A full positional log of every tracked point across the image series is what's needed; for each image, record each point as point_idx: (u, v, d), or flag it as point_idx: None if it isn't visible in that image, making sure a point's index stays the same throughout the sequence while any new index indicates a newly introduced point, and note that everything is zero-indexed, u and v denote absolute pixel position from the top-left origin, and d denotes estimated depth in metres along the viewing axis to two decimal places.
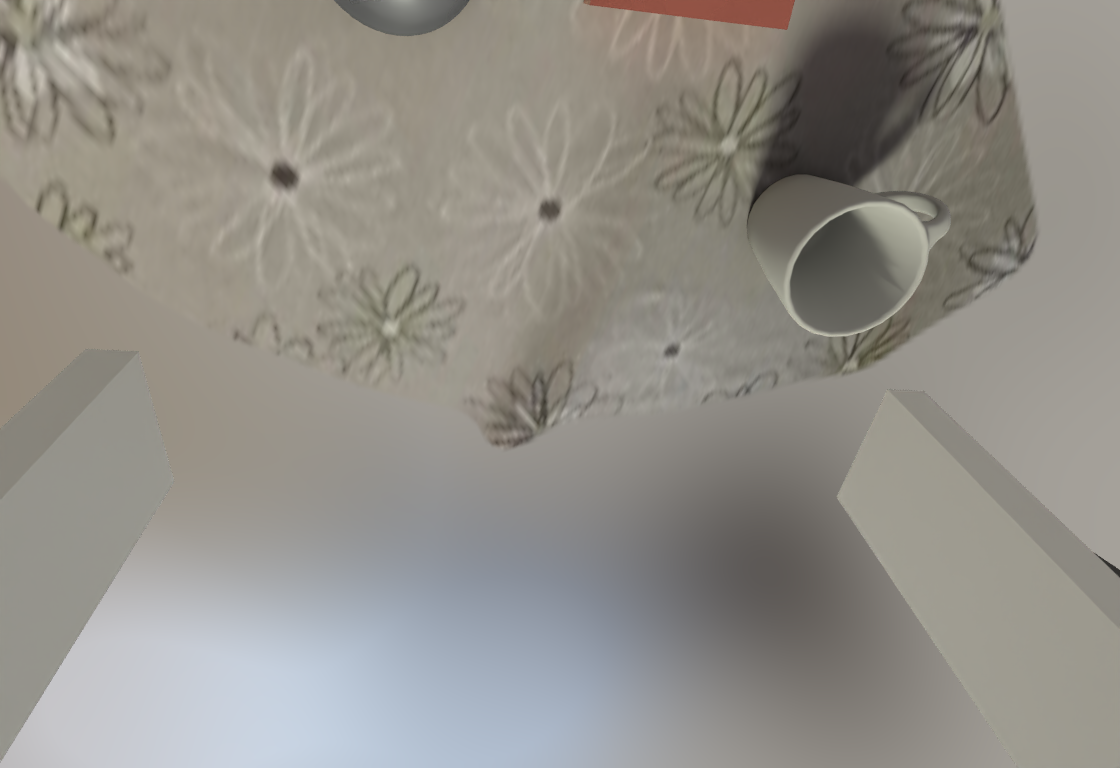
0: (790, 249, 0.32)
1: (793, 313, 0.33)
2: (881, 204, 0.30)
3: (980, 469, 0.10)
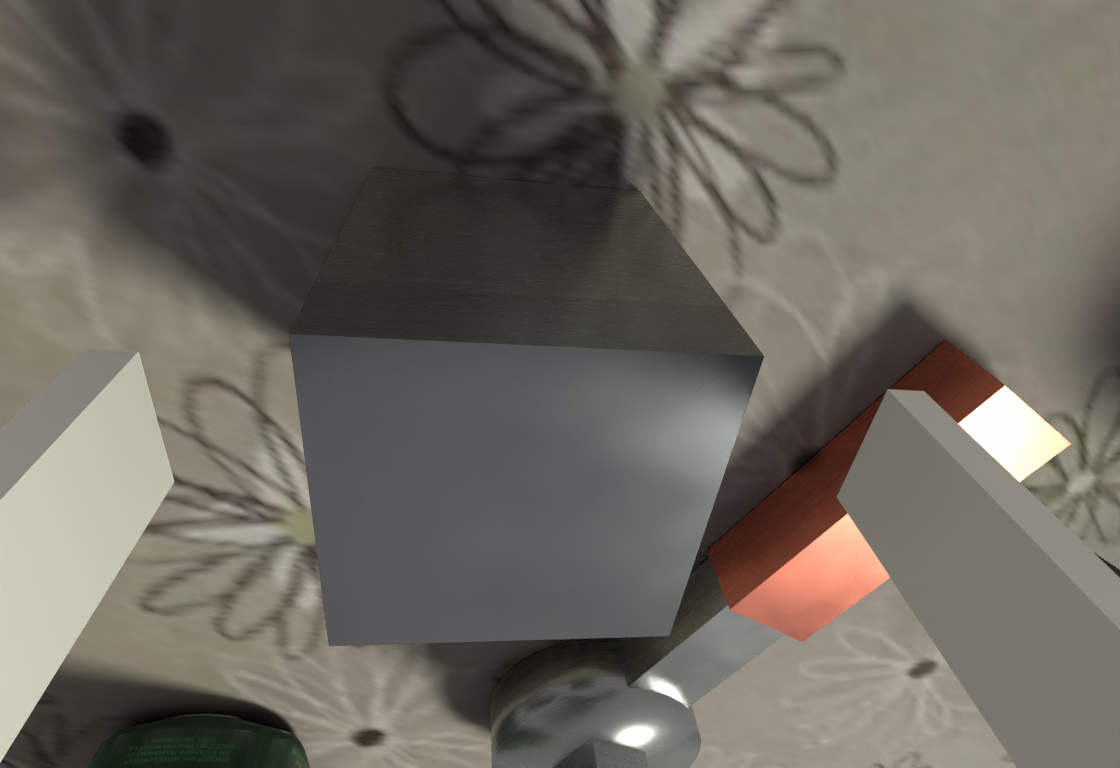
0: None
1: None
2: None
3: (980, 469, 0.10)
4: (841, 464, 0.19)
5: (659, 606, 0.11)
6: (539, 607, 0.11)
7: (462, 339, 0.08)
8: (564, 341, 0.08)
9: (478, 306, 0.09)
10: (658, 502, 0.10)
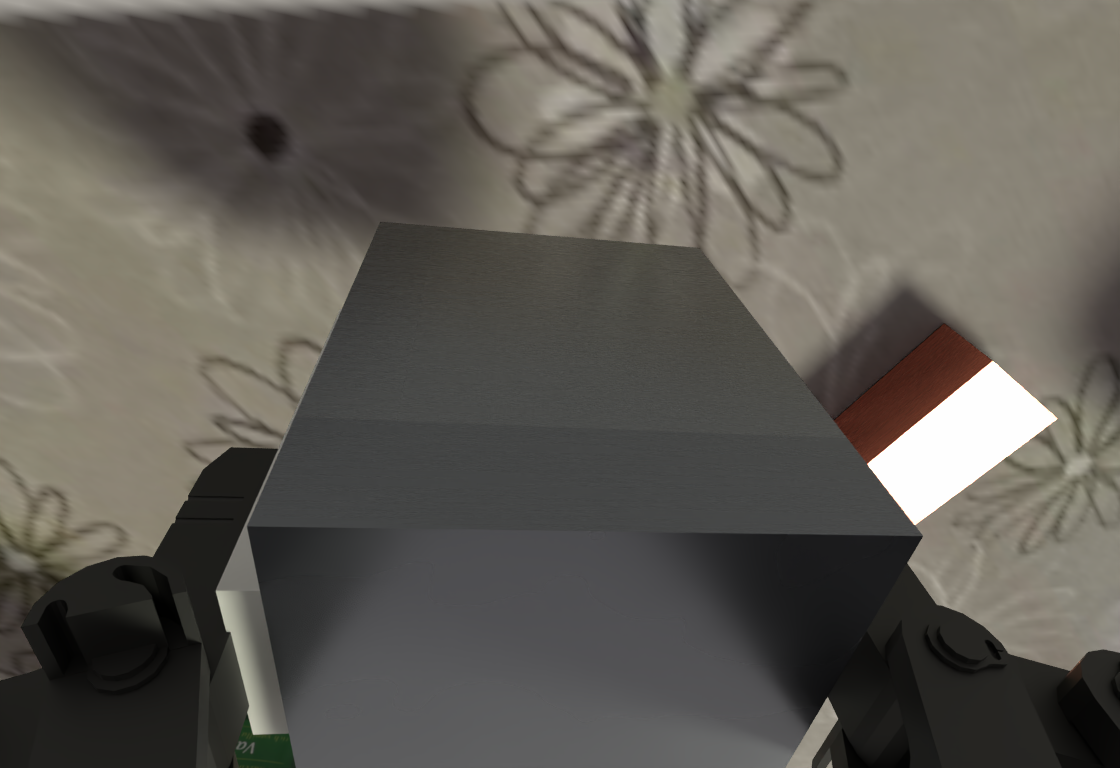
0: None
1: None
2: None
3: None
4: (848, 435, 0.21)
5: None
6: None
7: (498, 523, 0.05)
8: (642, 519, 0.06)
9: (517, 455, 0.06)
10: (752, 701, 0.07)
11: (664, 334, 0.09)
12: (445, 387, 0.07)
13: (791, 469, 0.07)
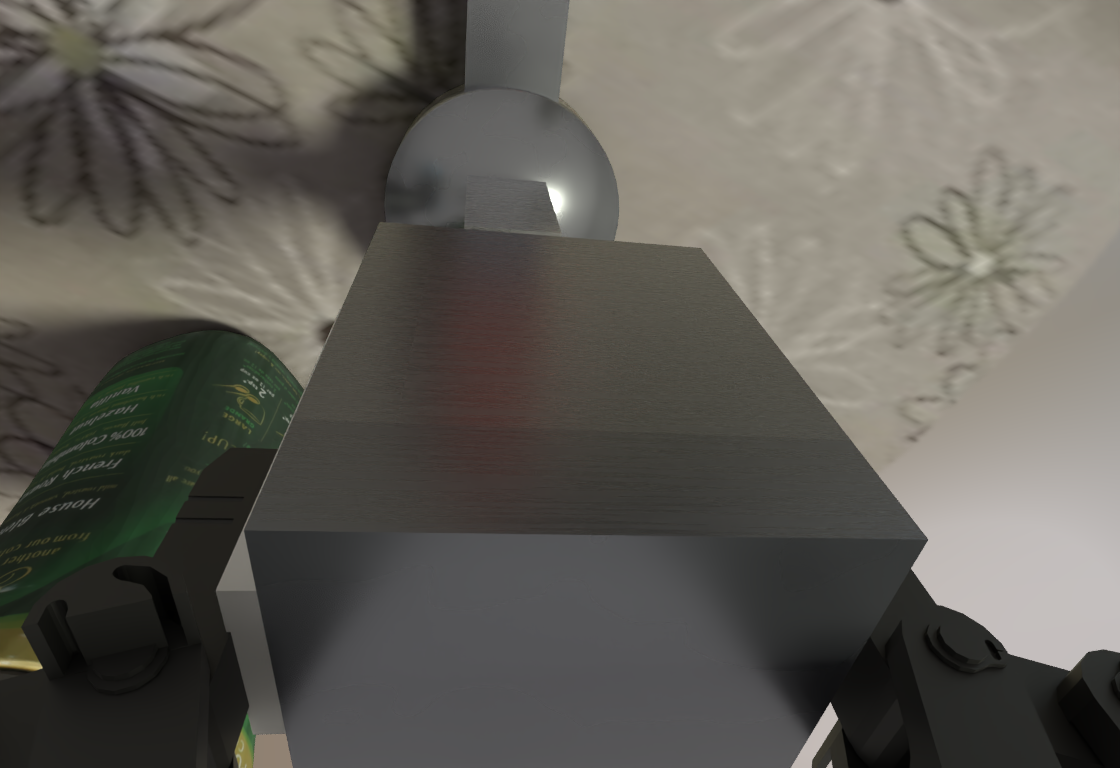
0: None
1: None
2: None
3: None
4: None
5: None
6: None
7: (499, 527, 0.05)
8: (645, 522, 0.06)
9: (518, 457, 0.06)
10: (754, 705, 0.07)
11: (666, 335, 0.09)
12: (445, 388, 0.07)
13: (794, 471, 0.06)
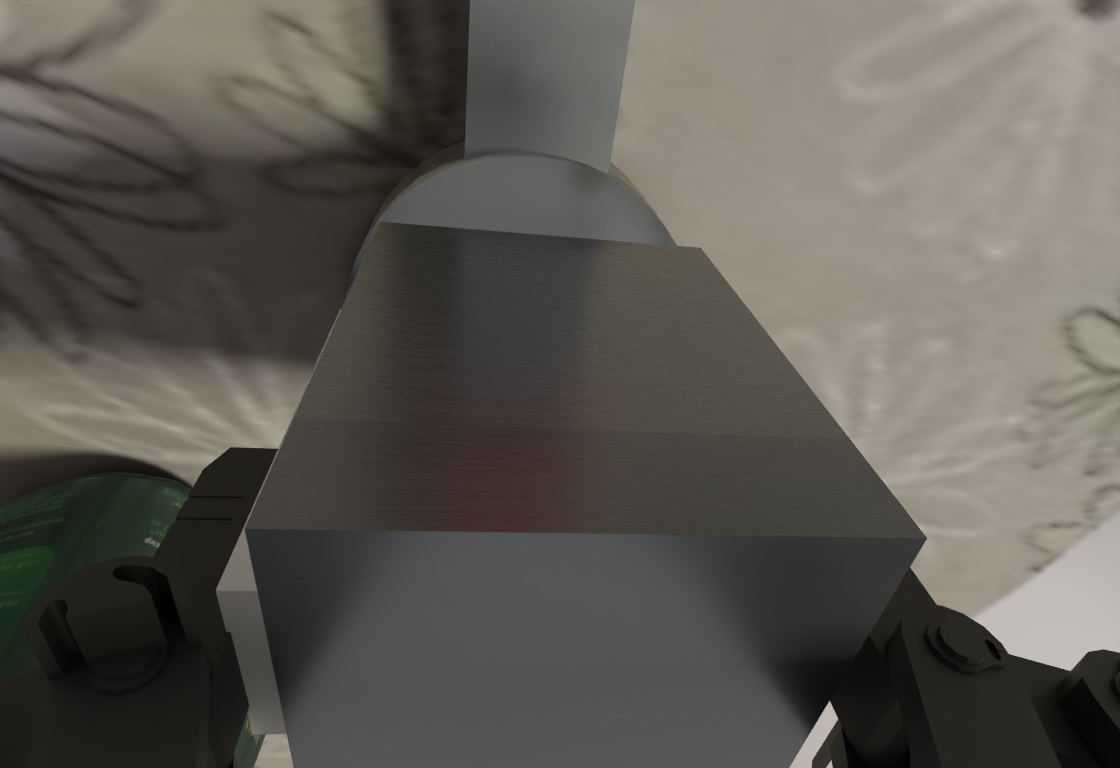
0: None
1: None
2: None
3: None
4: None
5: None
6: None
7: (498, 527, 0.05)
8: (644, 521, 0.06)
9: (518, 456, 0.06)
10: (754, 703, 0.07)
11: (665, 334, 0.09)
12: (445, 388, 0.07)
13: (793, 470, 0.07)
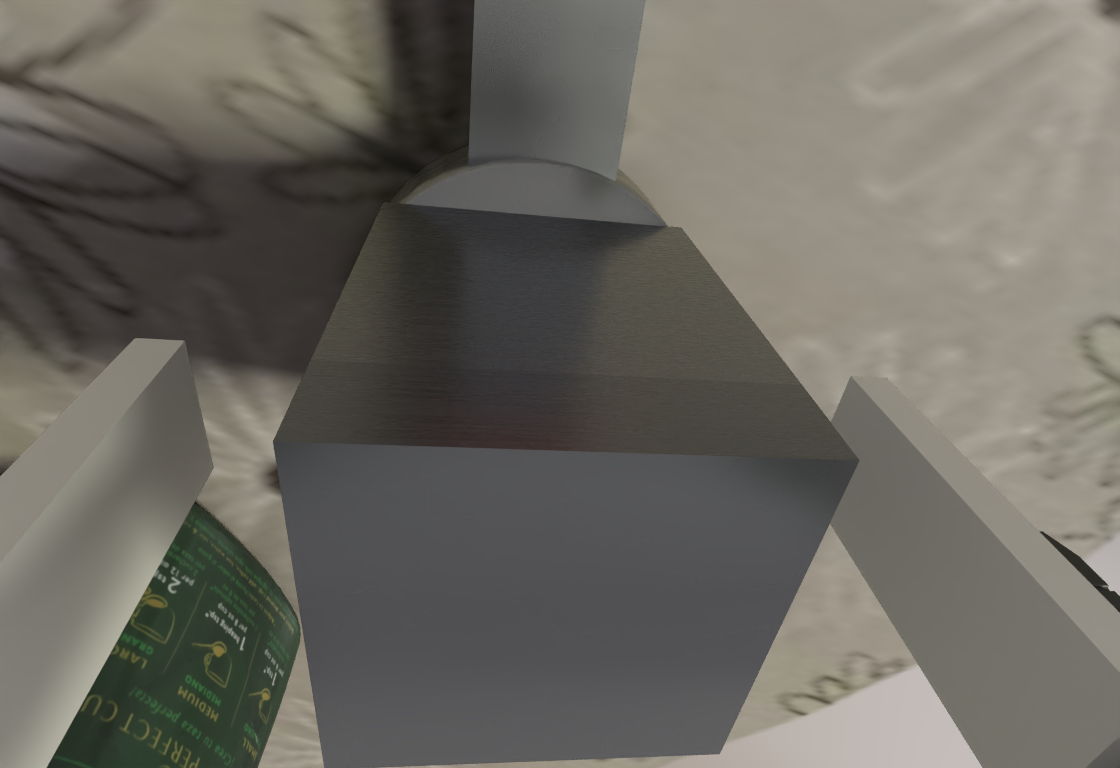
0: None
1: None
2: None
3: (934, 451, 0.10)
4: None
5: (710, 724, 0.09)
6: (571, 727, 0.09)
7: (489, 444, 0.06)
8: (614, 443, 0.07)
9: (506, 391, 0.07)
10: (717, 618, 0.08)
11: (643, 299, 0.10)
12: (443, 339, 0.08)
13: (749, 408, 0.07)
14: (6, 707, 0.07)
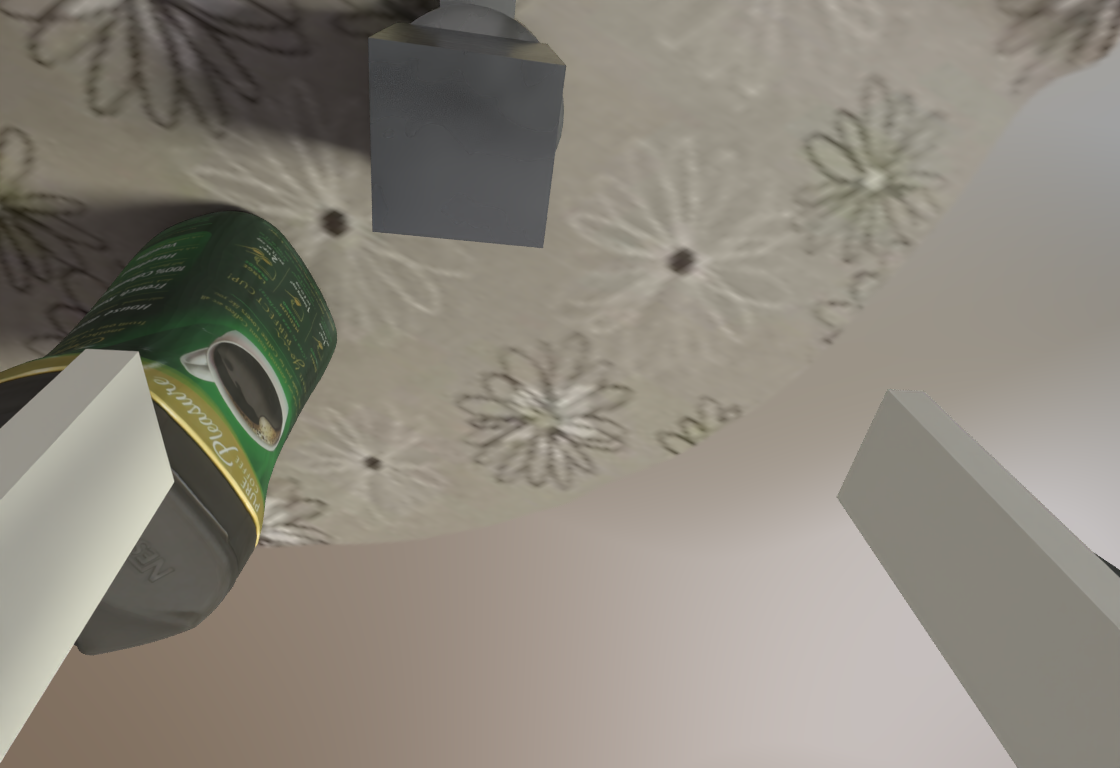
0: None
1: None
2: None
3: (980, 469, 0.10)
4: None
5: (535, 224, 0.22)
6: (475, 216, 0.22)
7: (437, 46, 0.19)
8: (480, 53, 0.19)
9: (445, 44, 0.20)
10: (527, 149, 0.21)
11: (511, 46, 0.23)
12: (424, 38, 0.21)
13: (534, 58, 0.20)
14: None
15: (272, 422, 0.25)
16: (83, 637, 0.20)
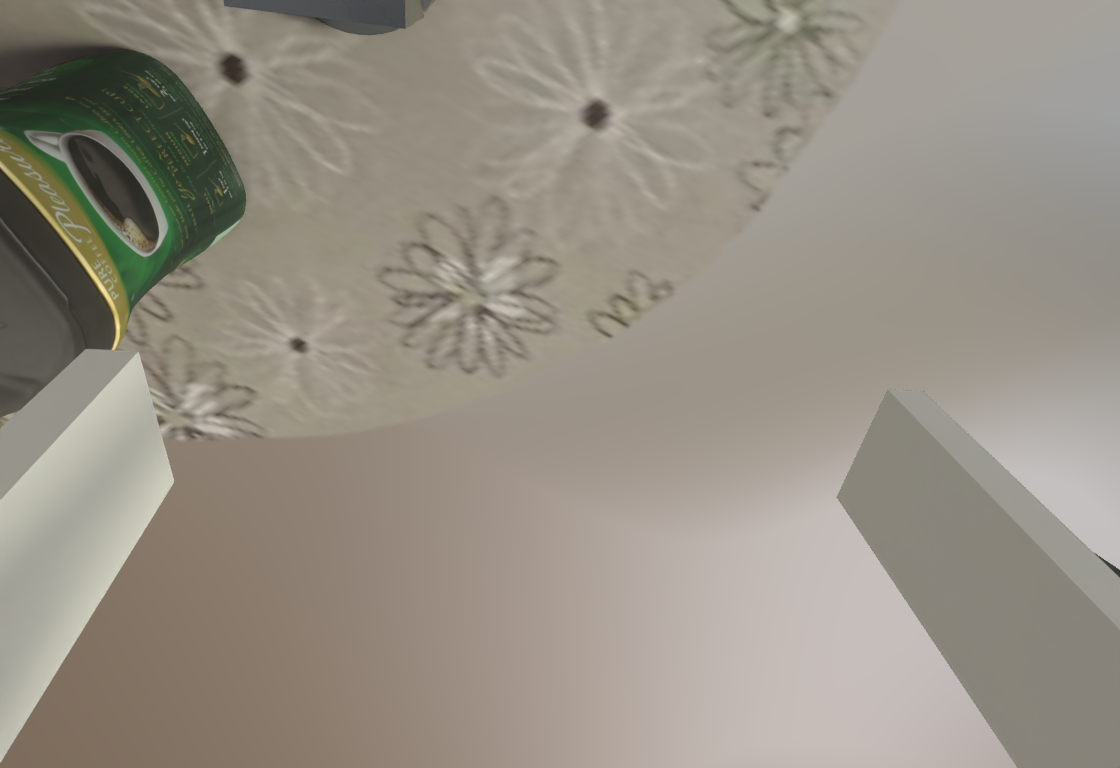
0: None
1: None
2: None
3: (980, 469, 0.10)
4: None
5: None
6: None
7: None
8: None
9: None
10: None
11: None
12: None
13: None
14: None
15: (143, 229, 0.24)
16: None
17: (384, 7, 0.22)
